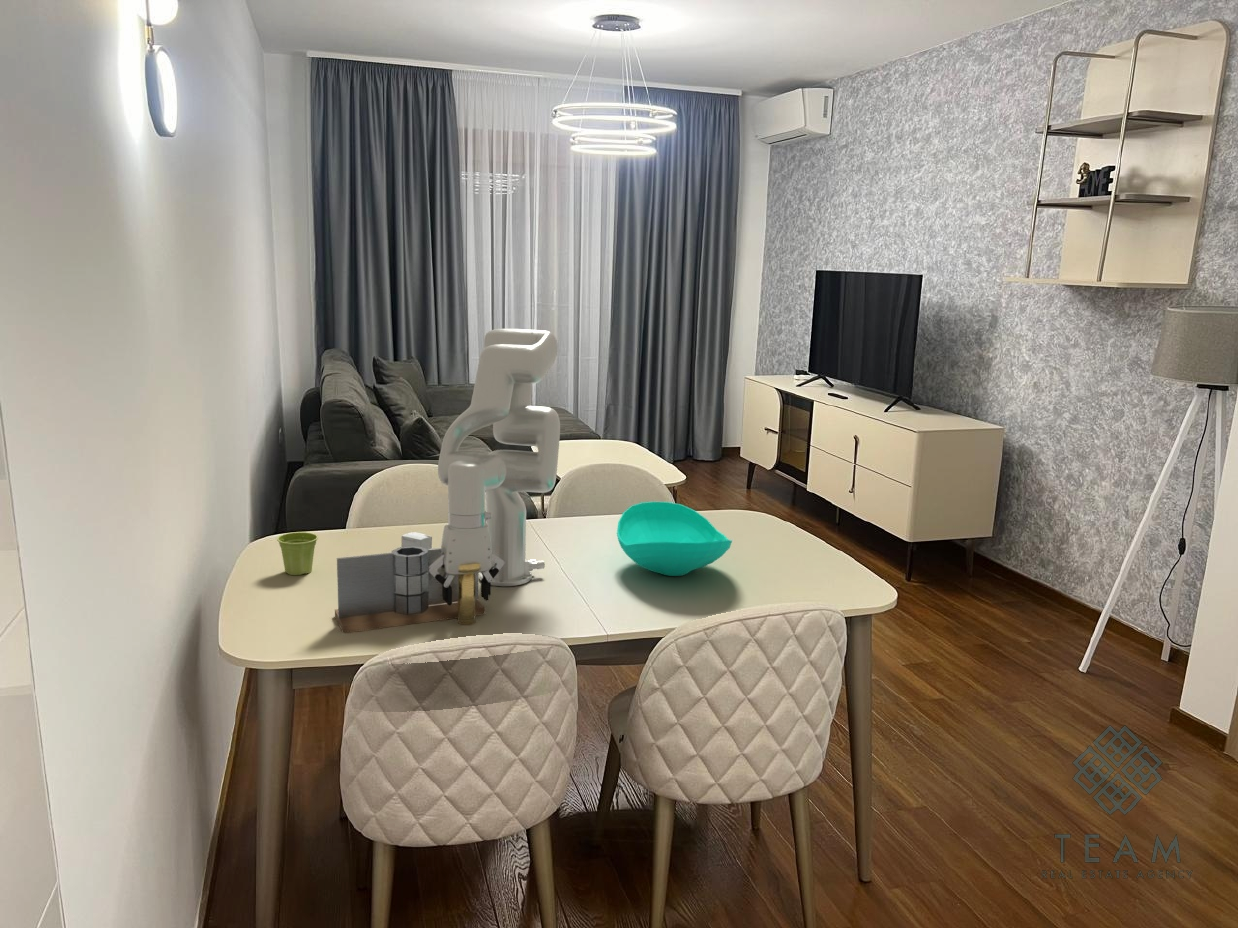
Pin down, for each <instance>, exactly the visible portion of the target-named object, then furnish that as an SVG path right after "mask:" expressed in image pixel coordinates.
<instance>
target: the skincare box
mask: <svg viewBox="0 0 1238 928" xmlns="http://www.w3.org/2000/svg"><path fill="white" fill-rule="evenodd" d="M432 543H433V536H432V535H429V534H425V533H421V532H415V531H411V532H408V533H405V534H403V535H401V547H409V546H412V547H413V546H415V547H422V548H426V550H427V551H428V549H433V548H432Z"/></svg>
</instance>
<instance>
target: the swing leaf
mask: <svg viewBox="0 0 1238 928" xmlns="http://www.w3.org/2000/svg"><path fill="white" fill-rule="evenodd" d="M440 557H441V547H437V548H432V549H428V567H429V566H430V565H431V564H433V563H434V562H435V561H436V560H437V559H438V558H440ZM437 572H438V573H439V574H440V575H441V576H443V574H444V572H445V570H444V569H442V568H441V567H440V568H438V570H437ZM479 574H480V572H479V573H475V599H477V600H479V595H480V594H479V591H480V590H479V588H480V587H479V581H480V578H479ZM450 586H451V587H452V602H458V575H455V576H454V577H453V579H452V581H451V583H450ZM427 590H428V591H429V605H435V604H443V603H446V602H445V601H444V600H443V598H442V584H441V583H440V582H438V581H437V580H436V579H435V578H434V576H433V575H432V574H431V573H430V572H429V571H428V570H427V571H425V572H424V573H420V574H415V575H402V574H396V573H394V593H396V594H402V595H415V594H421V593H424V592H425V591H427Z"/></svg>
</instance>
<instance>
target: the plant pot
mask: <svg viewBox="0 0 1238 928" xmlns="http://www.w3.org/2000/svg"><path fill="white" fill-rule="evenodd" d="M318 540H319V536H318V535H317V534H316V533H313V532H307V531H296V532H288V533H283V534H281V535H279V536H277V538H276V541H277V542H278V544H279V547H280V549H281V554H282V555H281V556H282V560H283V567H284V572H285V573H286V574H288V575H290V576H302V575H303V574H306V575H308V574H310V573H311V572H312V570H313V564H314V563H313V562H314V556H315V547H316V544H317V541H318ZM307 573H308V574H307Z"/></svg>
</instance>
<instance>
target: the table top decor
mask: <svg viewBox="0 0 1238 928" xmlns="http://www.w3.org/2000/svg"><path fill="white" fill-rule="evenodd" d="M616 529H617V531H616V536H617V540H618V543H619V546H620V548H621V550H622V551H623V553H625V555H626V556H627V557H628V558H629V559H631V560H632V562H634V563H636V565H637V566H640V567H641V568H644V569H646V570H648V571H650V572H651V571H652V572H653V573H657V574H660V575H663V576H668V577H681V576H685V575H687V574H689V573H690V572H692V571H694V570H699V569H701V568H704V567H706V566H708V565H710V564H713V563H714V562H716V561H717V560H719V559H720V558H721V557H723V556H724V554H725V553H727V552H728V551H729V549H730V548H731V545H732V543H733V540H732V539H729V538H727V536H725V534H723V533H722V532H720V531H719V530H718V529H717V528H716V527H715V526H713V524H712V523H711V522H710V521H709V520H708V519H707V518H706V517H704V516H703V515H702V514H700V513H699V512H698V511H697V510H694V509H692V508H690V507H688V506H686V505H683V504H680V503H677V502H676V503H674V502H670V501H646V502H645V501H644V502H640V503H639V502H638V503H636V504H632V505H631V506H629V507H628V508H627V509H626V510H625V511H623V512H622V515H621V516H620V518H619V520H618V522H617V528H616Z"/></svg>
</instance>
